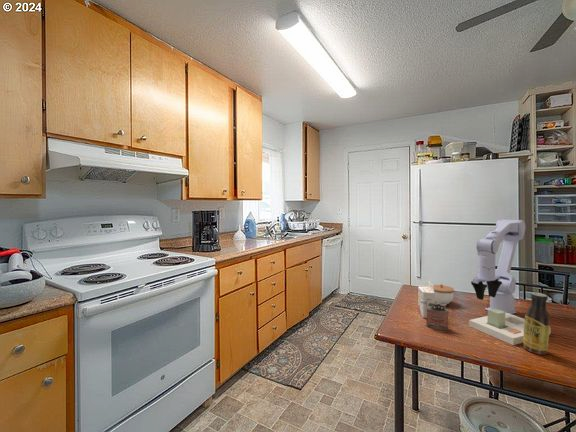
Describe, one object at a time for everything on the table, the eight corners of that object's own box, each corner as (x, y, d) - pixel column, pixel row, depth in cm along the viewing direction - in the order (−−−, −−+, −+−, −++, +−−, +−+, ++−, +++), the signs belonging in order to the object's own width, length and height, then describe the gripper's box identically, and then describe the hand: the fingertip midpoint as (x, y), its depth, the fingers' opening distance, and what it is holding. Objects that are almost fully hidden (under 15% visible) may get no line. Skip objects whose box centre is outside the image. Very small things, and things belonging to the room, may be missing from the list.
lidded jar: (458, 306, 130) (458, 287, 129) (436, 306, 130) (436, 287, 129) (445, 298, 140) (446, 281, 140) (425, 299, 141) (425, 281, 140)
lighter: (447, 326, 109) (447, 302, 109) (449, 330, 106) (449, 305, 105) (425, 324, 112) (425, 300, 111) (426, 327, 108) (427, 303, 108)
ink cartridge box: (417, 310, 126) (417, 279, 125) (428, 311, 125) (429, 280, 124) (422, 318, 117) (423, 285, 117) (435, 319, 116) (435, 285, 116)
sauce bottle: (518, 346, 94) (519, 290, 93) (534, 345, 94) (536, 290, 93) (536, 357, 87) (538, 297, 86) (554, 355, 88) (556, 296, 87)
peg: (494, 327, 108) (494, 308, 107) (504, 332, 104) (505, 312, 104) (487, 329, 106) (487, 309, 106) (498, 333, 103) (498, 313, 102)
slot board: (504, 317, 117) (504, 311, 117) (550, 334, 102) (550, 327, 102) (469, 326, 109) (469, 319, 109) (513, 345, 94) (513, 337, 94)
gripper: (488, 263, 121) (487, 292, 122) (465, 266, 116) (465, 296, 117) (505, 266, 114) (504, 297, 115) (482, 270, 109) (481, 302, 110)
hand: (486, 297), depth 115 cm, fingers open, 7 cm apart
